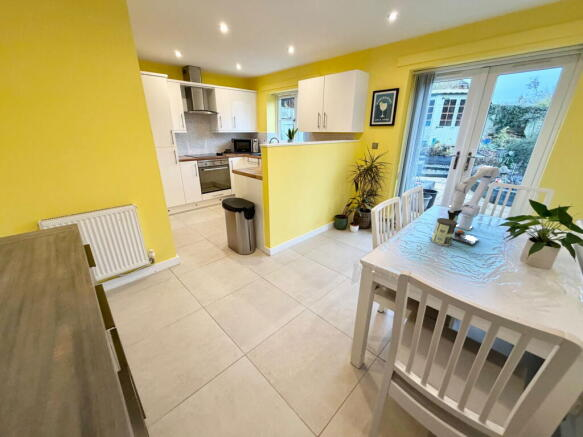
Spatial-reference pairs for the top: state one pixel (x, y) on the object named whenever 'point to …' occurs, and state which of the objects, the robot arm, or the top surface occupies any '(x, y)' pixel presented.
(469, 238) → the scale pan
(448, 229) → the coffee can
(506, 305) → the top surface
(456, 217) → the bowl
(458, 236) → the scale
